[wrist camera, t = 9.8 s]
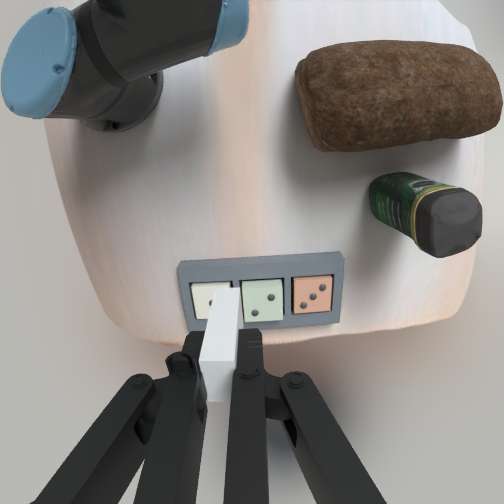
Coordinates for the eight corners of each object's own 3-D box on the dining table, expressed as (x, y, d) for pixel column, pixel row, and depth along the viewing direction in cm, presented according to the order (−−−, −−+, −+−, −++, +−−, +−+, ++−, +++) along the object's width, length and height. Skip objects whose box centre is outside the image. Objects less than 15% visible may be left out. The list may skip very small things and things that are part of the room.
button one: (199, 311, 50) (196, 319, 47) (194, 280, 48) (191, 287, 45) (233, 309, 50) (232, 318, 47) (230, 278, 48) (229, 285, 45)
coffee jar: (370, 224, 45) (429, 271, 28) (364, 177, 43) (427, 201, 25) (419, 213, 45) (487, 251, 27) (414, 168, 42) (488, 188, 24)
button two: (245, 313, 48) (244, 322, 46) (242, 281, 46) (241, 289, 44) (281, 311, 48) (283, 320, 46) (280, 279, 46) (282, 287, 43)
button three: (292, 305, 49) (294, 314, 47) (292, 273, 47) (294, 281, 45) (326, 302, 49) (330, 311, 47) (328, 271, 47) (332, 278, 45)
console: (191, 321, 52) (188, 331, 49) (180, 261, 48) (176, 268, 45) (335, 313, 51) (339, 322, 48) (339, 251, 47) (344, 258, 44)
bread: (283, 66, 37) (299, 29, 22) (449, 57, 34) (505, 41, 19) (308, 157, 42) (337, 165, 27) (467, 132, 39) (528, 138, 24)
